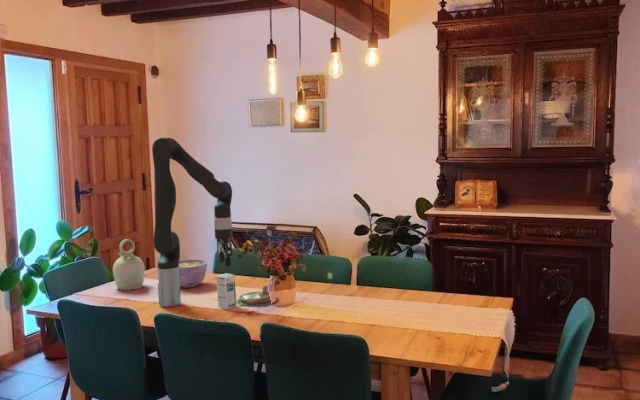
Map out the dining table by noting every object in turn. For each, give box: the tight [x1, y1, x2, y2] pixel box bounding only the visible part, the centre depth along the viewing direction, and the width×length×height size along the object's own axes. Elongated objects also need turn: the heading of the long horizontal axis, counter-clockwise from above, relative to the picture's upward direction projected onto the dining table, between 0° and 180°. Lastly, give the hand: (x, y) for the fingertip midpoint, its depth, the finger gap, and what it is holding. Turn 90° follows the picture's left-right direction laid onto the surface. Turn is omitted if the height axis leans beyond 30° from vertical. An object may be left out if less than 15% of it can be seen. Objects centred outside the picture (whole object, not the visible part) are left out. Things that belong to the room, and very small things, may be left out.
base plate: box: [237, 298, 272, 307], centre depth 274 cm, size 19×18×1 cm
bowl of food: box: [179, 258, 208, 288], centre depth 306 cm, size 20×20×12 cm
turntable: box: [239, 284, 271, 304], centre depth 274 cm, size 16×16×5 cm
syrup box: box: [216, 273, 237, 310], centre depth 266 cm, size 6×6×14 cm
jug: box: [112, 238, 146, 291], centre depth 305 cm, size 15×16×25 cm
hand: (225, 263), depth 264 cm, fingers open, 8 cm apart
